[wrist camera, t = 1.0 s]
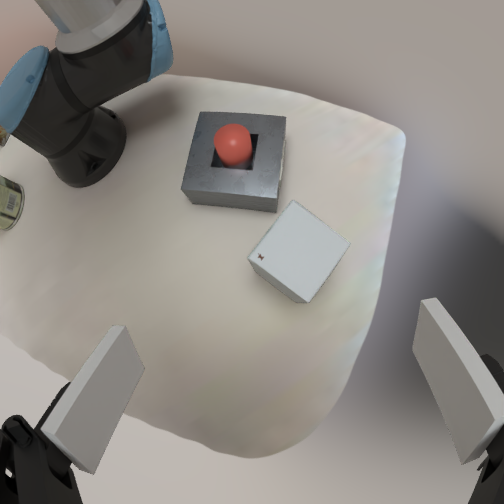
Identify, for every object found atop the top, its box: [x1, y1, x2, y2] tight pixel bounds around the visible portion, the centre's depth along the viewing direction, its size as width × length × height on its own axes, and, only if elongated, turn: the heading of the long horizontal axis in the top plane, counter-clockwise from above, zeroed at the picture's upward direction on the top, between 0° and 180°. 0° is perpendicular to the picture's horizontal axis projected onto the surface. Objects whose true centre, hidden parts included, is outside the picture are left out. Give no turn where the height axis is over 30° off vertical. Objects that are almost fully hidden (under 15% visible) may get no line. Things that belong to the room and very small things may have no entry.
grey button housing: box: [181, 112, 286, 213], centre depth 40 cm, size 12×12×6 cm
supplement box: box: [247, 200, 351, 303], centre depth 34 cm, size 7×7×13 cm
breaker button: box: [214, 124, 253, 170], centre depth 36 cm, size 4×4×5 cm
